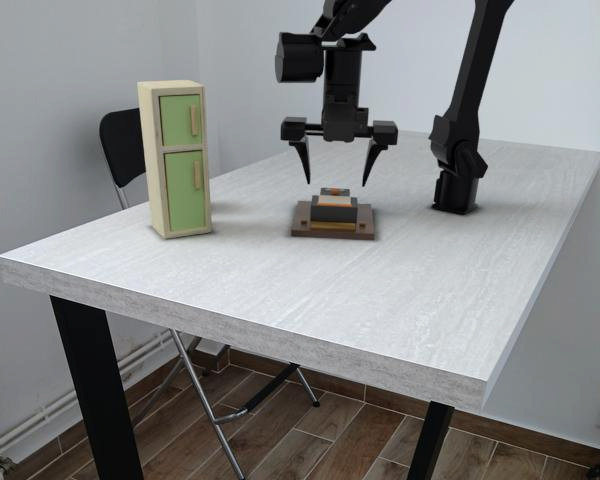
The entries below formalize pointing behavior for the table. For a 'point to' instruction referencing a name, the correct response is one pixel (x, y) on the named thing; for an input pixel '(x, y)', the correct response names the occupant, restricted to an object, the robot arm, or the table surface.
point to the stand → (333, 224)
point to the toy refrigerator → (176, 156)
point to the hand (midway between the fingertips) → (336, 185)
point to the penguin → (334, 206)
